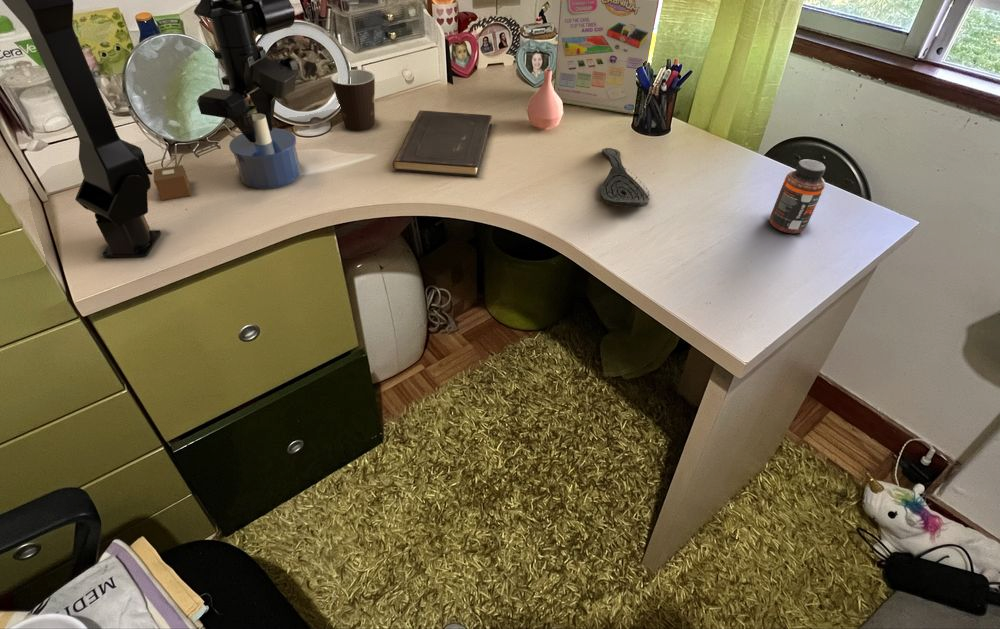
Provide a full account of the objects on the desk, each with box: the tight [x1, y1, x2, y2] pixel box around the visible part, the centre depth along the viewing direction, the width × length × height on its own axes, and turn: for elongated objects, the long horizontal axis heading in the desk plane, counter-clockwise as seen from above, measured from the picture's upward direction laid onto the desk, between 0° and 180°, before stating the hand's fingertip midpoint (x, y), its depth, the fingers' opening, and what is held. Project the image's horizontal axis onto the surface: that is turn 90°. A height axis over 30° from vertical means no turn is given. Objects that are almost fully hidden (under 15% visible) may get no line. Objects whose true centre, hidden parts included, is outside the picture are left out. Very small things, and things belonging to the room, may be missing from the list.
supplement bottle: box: [769, 158, 826, 234], centre depth 95 cm, size 6×6×11 cm
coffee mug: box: [330, 68, 376, 132], centre depth 122 cm, size 12×9×10 cm
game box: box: [553, 0, 663, 115], centre depth 126 cm, size 21×6×27 cm, turn 69°
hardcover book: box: [392, 109, 493, 178], centre depth 116 cm, size 16×23×2 cm
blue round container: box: [233, 145, 302, 190], centre depth 105 cm, size 10×10×6 cm
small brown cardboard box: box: [153, 164, 192, 201], centre depth 100 cm, size 4×5×4 cm
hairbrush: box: [599, 147, 650, 208], centre depth 107 cm, size 8×4×25 cm
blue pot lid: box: [228, 113, 297, 159], centre depth 101 cm, size 11×11×6 cm
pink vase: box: [526, 68, 564, 130], centre depth 121 cm, size 8×8×12 cm
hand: (261, 136), depth 102 cm, fingers open, 5 cm apart
